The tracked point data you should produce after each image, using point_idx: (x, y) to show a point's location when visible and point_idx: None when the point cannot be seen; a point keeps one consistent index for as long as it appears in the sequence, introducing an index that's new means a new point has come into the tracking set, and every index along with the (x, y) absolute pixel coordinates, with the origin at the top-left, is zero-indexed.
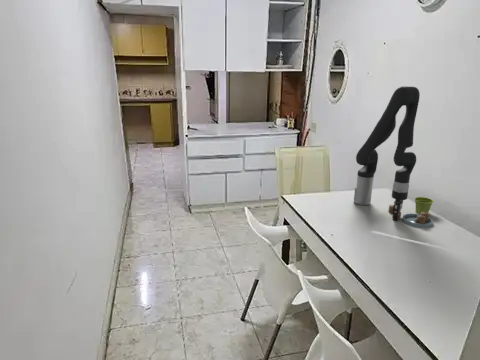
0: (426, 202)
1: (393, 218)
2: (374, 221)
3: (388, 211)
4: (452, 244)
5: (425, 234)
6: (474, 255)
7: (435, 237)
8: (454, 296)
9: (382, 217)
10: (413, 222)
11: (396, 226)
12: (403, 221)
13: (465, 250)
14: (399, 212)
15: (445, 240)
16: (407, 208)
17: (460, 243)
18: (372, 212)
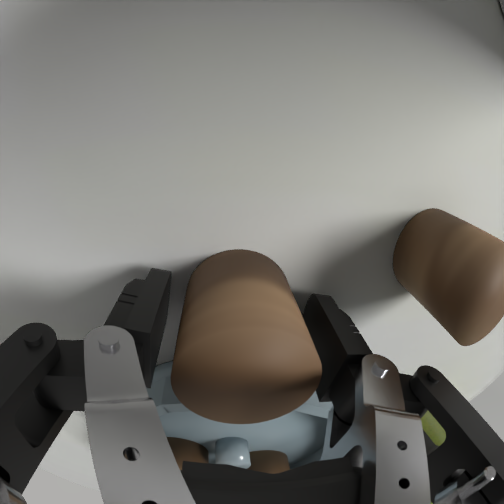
0: None
1: (143, 290)
2: (72, 36)
3: (448, 216)
4: (64, 464)
5: (71, 431)
6: (45, 470)
7: (75, 450)
8: None
9: (267, 114)
10: (194, 430)
11: (49, 295)
12: (167, 376)
13: (55, 470)
14: (256, 410)
15: (78, 463)
16: (489, 343)
17: (95, 481)
18: (400, 17)
